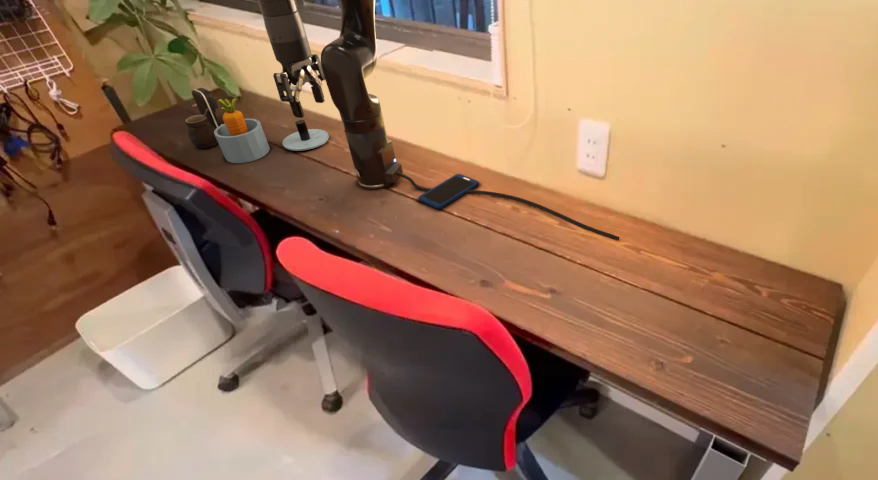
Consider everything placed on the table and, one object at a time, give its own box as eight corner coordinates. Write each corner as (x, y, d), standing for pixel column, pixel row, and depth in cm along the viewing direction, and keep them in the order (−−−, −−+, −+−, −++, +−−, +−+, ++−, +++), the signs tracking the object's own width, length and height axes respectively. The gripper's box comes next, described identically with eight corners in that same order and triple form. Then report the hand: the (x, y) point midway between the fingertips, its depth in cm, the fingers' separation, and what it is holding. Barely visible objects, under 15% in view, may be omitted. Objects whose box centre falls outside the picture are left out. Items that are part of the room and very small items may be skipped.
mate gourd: (191, 145, 148) (174, 111, 142) (218, 136, 152) (203, 103, 145) (198, 153, 144) (181, 119, 137) (225, 144, 147) (210, 110, 141)
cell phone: (480, 184, 124) (480, 181, 124) (439, 210, 116) (438, 207, 116) (458, 175, 128) (458, 172, 127) (417, 200, 120) (416, 197, 120)
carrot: (260, 147, 144) (238, 94, 134) (251, 156, 140) (229, 102, 131) (243, 147, 145) (221, 94, 135) (234, 155, 141) (210, 102, 131)
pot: (278, 145, 146) (269, 120, 141) (252, 165, 137) (241, 139, 132) (243, 141, 148) (233, 117, 144) (216, 161, 140) (204, 135, 135)
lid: (337, 134, 149) (332, 114, 145) (313, 154, 140) (307, 133, 136) (300, 130, 152) (293, 110, 148) (274, 150, 143) (266, 129, 139)
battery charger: (228, 127, 156) (212, 90, 149) (216, 132, 154) (199, 94, 147) (218, 121, 160) (201, 85, 152) (206, 126, 158) (189, 89, 150)
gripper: (282, 46, 104) (307, 123, 114) (321, 26, 114) (340, 98, 124) (251, 45, 105) (278, 121, 116) (291, 25, 116) (313, 96, 126)
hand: (310, 109), depth 120 cm, fingers open, 8 cm apart
